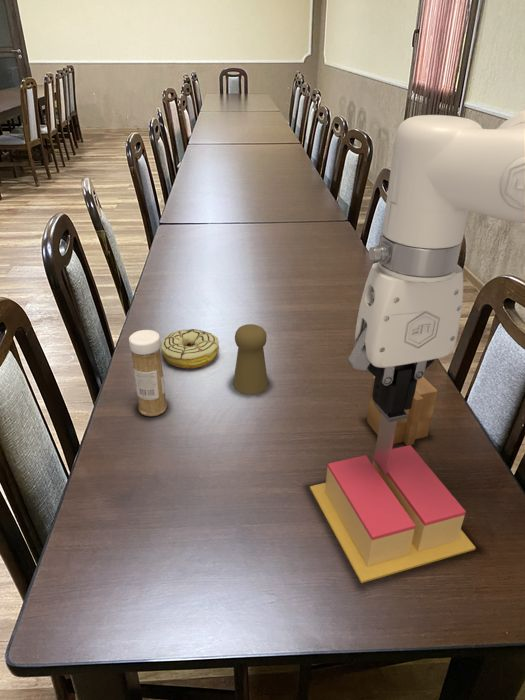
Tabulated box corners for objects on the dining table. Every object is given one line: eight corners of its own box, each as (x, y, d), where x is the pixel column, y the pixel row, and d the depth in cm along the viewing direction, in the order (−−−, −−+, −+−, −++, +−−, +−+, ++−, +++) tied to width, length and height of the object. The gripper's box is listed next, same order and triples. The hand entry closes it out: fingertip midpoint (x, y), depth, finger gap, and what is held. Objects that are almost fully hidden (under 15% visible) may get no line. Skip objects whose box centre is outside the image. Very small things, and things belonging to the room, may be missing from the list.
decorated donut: (200, 336, 106) (199, 319, 104) (230, 360, 99) (229, 342, 97) (152, 351, 101) (150, 334, 99) (179, 378, 93) (178, 359, 92)
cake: (408, 465, 76) (414, 435, 73) (475, 549, 64) (485, 518, 61) (309, 488, 72) (312, 458, 69) (361, 583, 60) (366, 551, 57)
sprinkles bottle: (172, 404, 87) (165, 332, 80) (157, 420, 83) (148, 346, 77) (148, 397, 89) (140, 326, 82) (132, 413, 85) (122, 339, 78)
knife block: (403, 409, 87) (411, 365, 82) (431, 440, 80) (442, 394, 76) (363, 417, 85) (369, 372, 80) (388, 450, 78) (397, 403, 74)
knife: (381, 456, 69) (399, 353, 61) (395, 476, 66) (416, 370, 58) (364, 460, 68) (380, 357, 60) (378, 480, 66) (397, 374, 57)
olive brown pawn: (248, 399, 89) (249, 341, 83) (225, 383, 92) (224, 327, 87) (275, 385, 92) (277, 329, 86) (252, 370, 96) (252, 315, 90)
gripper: (363, 277, 47) (343, 438, 57) (511, 259, 52) (469, 411, 61) (328, 248, 53) (315, 397, 63) (463, 234, 58) (432, 376, 67)
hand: (391, 403), depth 62 cm, fingers closed on knife, 1 cm apart
